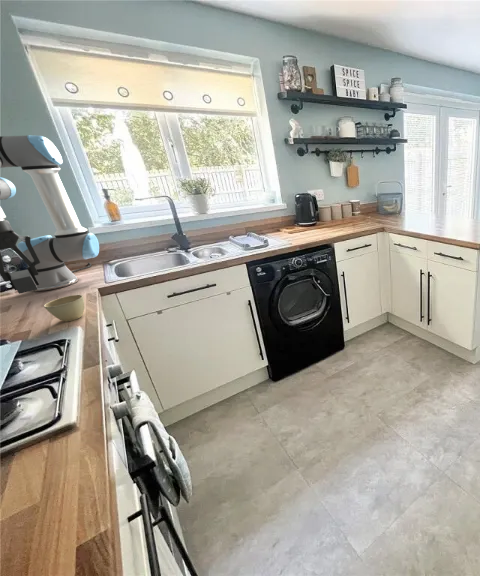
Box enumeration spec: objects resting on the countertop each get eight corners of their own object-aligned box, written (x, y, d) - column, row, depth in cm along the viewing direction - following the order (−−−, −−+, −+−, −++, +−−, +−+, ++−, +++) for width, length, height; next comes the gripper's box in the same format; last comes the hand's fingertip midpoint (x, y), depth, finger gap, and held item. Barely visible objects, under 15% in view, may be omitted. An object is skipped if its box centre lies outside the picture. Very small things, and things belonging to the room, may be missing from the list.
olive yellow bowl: (53, 319, 111) (44, 301, 108) (90, 309, 117) (81, 292, 115) (53, 328, 104) (42, 309, 102) (91, 317, 111) (83, 299, 108)
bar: (17, 285, 113) (10, 272, 111) (35, 281, 116) (28, 269, 114) (19, 293, 104) (11, 280, 102) (37, 289, 107) (30, 276, 105)
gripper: (-55, 227, 92) (-11, 298, 101) (29, 217, 104) (62, 280, 113) (-52, 225, 97) (-10, 293, 106) (28, 215, 109) (59, 277, 118)
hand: (27, 286), depth 110 cm, fingers closed on bar, 4 cm apart
